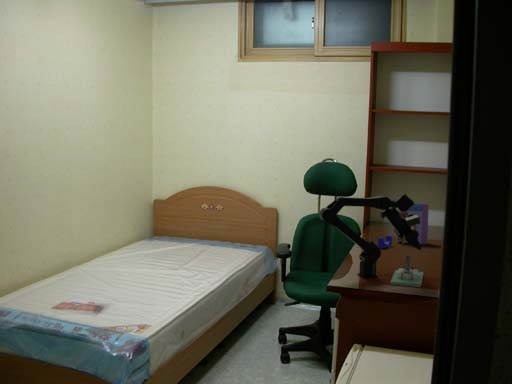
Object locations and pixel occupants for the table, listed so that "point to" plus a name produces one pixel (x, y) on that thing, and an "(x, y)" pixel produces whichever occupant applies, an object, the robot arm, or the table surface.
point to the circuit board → (407, 280)
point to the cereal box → (421, 228)
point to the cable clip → (386, 243)
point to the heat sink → (412, 275)
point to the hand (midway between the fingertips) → (417, 247)
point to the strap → (408, 265)
